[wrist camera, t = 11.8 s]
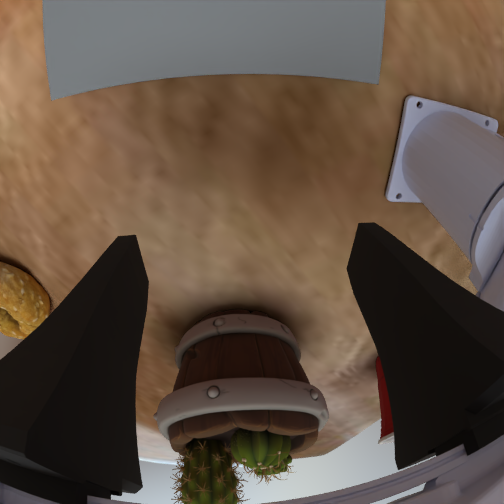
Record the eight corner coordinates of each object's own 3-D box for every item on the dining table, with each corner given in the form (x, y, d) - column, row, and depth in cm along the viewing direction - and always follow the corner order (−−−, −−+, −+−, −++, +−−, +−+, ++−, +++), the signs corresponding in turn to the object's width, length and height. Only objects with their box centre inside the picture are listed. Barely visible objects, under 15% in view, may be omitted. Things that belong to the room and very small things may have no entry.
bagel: (0, 317, 27) (-14, 348, 23) (-33, 245, 20) (-56, 278, 17) (66, 330, 29) (55, 366, 25) (40, 255, 22) (19, 294, 19)
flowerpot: (307, 274, 26) (369, 526, 10) (306, 363, 36) (336, 521, 20) (141, 298, 26) (115, 535, 11) (189, 377, 36) (191, 533, 21)
